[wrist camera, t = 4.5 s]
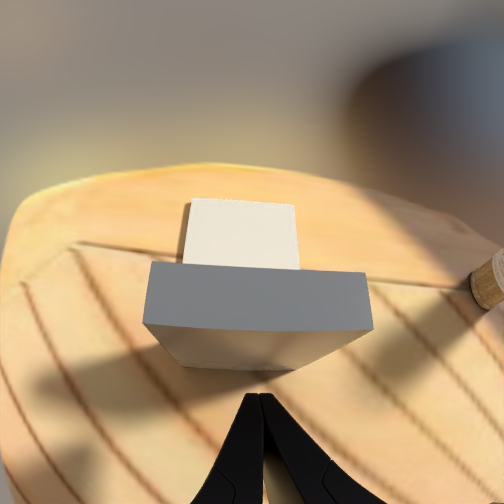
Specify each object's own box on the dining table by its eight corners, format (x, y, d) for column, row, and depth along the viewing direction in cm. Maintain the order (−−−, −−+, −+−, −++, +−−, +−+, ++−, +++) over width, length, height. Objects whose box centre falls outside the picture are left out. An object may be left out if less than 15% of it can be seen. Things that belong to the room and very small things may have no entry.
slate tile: (295, 370, 17) (373, 329, 8) (182, 366, 16) (142, 323, 8) (294, 339, 18) (364, 271, 9) (184, 334, 17) (152, 260, 9)
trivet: (301, 332, 18) (303, 330, 18) (176, 327, 17) (175, 324, 17) (292, 208, 23) (293, 204, 23) (192, 201, 22) (192, 197, 22)
